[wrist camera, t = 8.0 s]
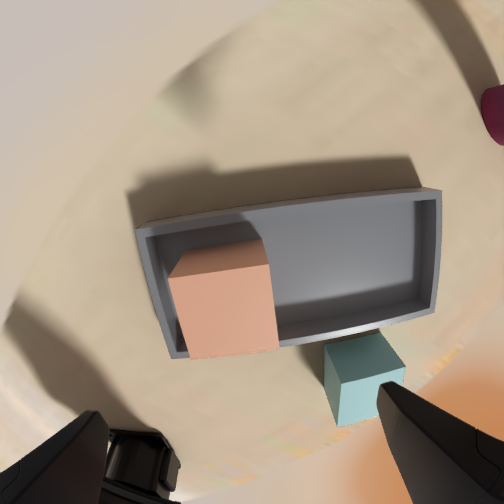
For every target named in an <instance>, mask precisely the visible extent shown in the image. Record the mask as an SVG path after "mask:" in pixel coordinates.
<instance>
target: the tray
mask: <svg viewBox="0 0 504 504" xmlns="http://www.w3.org/2000/svg"><path fill="white" fill-rule="evenodd" d="M135 234H136V238H137V242H138V247H139V251H140V255H141V259H142V263H143V267H144V271H145V275H146V279H147V282H148V286H149V290H150V293H151V297H152V300H153V304H154V307H155V310H156V314H157V317H158V320H159V323H160V326H161V330H162V333H163V336H164V339H165V342H166V345H167V348H168V351H169V353H170V356H171V359H178V358H190V355H189V352H188V349H187V345H186V342H185V339H184V336H183V332H182V329H181V326H180V322H179V319H178V315H177V312H176V308H175V304H174V301H173V297H172V293H171V290H170V286H169V282H168V277H169V276H170V274H171V273H172V271H173V269H174V268H175V266H176V265H177V263H178V262H179V260H180V259H181V257H182V255H183V254H184V252H185V251H186V250H191V249H198V248H204V247H211V246H217V245H224V244H230V243H237V242H244V241H250V240H257V239H262V241H263V244H264V248H265V252H266V256H267V259H268V263H269V269H270V277H271V284H272V292H273V300H274V308H275V316H276V323H277V331H278V340H279V348H280V347H286V346H293V345H299V344H304V343H310V342H315V341H321V340H326V339H331V338H336V337H341V336H346V335H350V334H355V333H359V332H364V331H368V330H372V329H376V328H380V327H384V326H388V325H392V324H396V323H400V322H403V321H407V320H411V319H414V318H418V317H421V316H425V315H428V314H431V313H434V311H435V304H436V297H437V289H438V280H439V270H440V258H441V241H442V190H437V189H431V188H426V187H415V188H401V189H389V190H377V191H366V192H355V193H345V194H335V195H326V196H317V197H309V198H300V199H292V200H284V201H277V202H269V203H262V204H255V205H248V206H241V207H234V208H227V209H221V210H215V211H208V212H202V213H196V214H190V215H184V216H178V217H173V218H167V219H162V220H156V221H151V222H147V223H145V224H143V225H142V226H140V227H138V228H137V229H135Z"/></svg>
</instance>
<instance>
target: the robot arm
mask: <svg viewBox="0 0 504 504" xmlns="http://www.w3.org/2000/svg"><path fill="white" fill-rule="evenodd" d="M376 406H377V410H378V413H379V416H380V419H381V423H382V426H383V429H384V432H385V435H386V439H387V442H388V445H389V448H390V450H391V453H392V455H393V457H394V460H395V462H396V464H397V466H398V469H399V471H400V473H401V476H402V478H403V480H404V483H405V485H406V487H407V490H408V492H409V494H410V497H411V499H412V502H413V504H504V441H501V440H499V439H496V438H494V437H492V436H490V435H488V434H486V433H484V432H482V431H481V430H479V429H476V428H475V427H473V426H471V425H469V424H467V423H466V422H464V421H462V420H460V419H458V418H457V417H455V416H453V415H451V414H449V413H447V412H446V411H444V410H442V409H440V408H439V407H437V406H435V405H433V404H432V403H430V402H428V401H426V400H425V399H423V398H421V397H419V396H418V395H416V394H414V393H413V392H411V391H409V390H408V389H406V388H404V387H402V386H401V385H399V384H397V383H396V382H394V381H388V382H385V383H382V384H380V386H379V389H378V395H377V400H376ZM109 439H110V441H111V442H112V443H111V445H110V448H109V451H108V453H107V448H108V441H109ZM180 468H181V464H180V461H179V460H178V458H177V456H176V455H175V453H174V452H173V450H172V449H171V448H170V446H169V445H168V443H167V441H166V440H165V438H164V436H163V435H161V434H159V433H146V432H132V431H121V430H112V429H109V426H108V424H107V423H106V421H105V420H104V418H103V417H102V415H101V414H100V412H98V411H96V410H86V411H85V412H84V413H82V414H81V415H80V416H78V417H77V418H76V419H74V420H73V421H72V422H71V423H69V424H68V425H67V426H65V427H64V428H63V429H61V430H60V431H59V432H57V433H56V434H55V435H53V436H52V437H50V438H49V439H48V440H46V441H45V442H44V443H42V444H41V445H40V446H38V447H37V448H36V449H34V450H33V451H31V452H30V453H29V454H27V455H26V456H25V457H23V458H22V459H21V460H19V461H18V462H16V463H15V464H13V465H12V466H10V467H9V468H8V469H6V470H4V471H3V472H1V473H0V504H181V502H177V501H171V500H169V495H170V492H174V491H175V488H176V482H177V475H178V469H180Z"/></svg>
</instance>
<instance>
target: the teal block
mask: <svg viewBox="0 0 504 504" xmlns="http://www.w3.org/2000/svg"><path fill="white" fill-rule="evenodd" d="M405 369H406V366H405V365H404V363H403V362H402V360H401V359H400V358H399V356H398V355H397V354H396V352H395V351H394V350H393V348H392V347H391V346H390V344H389V343H388V342H387V340H386V339H385V338H384V336H383V335H382V334H381V332H380V333H376V334H372V335H367V336H363V337H358V338H354V339H349V340H344V341H339V342H334V343H329V344H324V390H325V392H326V395H327V398H328V401H329V404H330V407H331V410H332V413H333V416H334V419H335V422H336V425H337V427H339V426H344V425H348V424H352V423H356V422H359V421H363V420H367V419H370V418H374V417H377V416H379V413H378V410H377V406H376V400H377V395H378V389H379V386H380V384H382V383H385V382H388V381H394V382H396V383H397V384H399V385H401V386H402V382H403V377H404V373H405Z"/></svg>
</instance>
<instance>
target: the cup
mask: <svg viewBox="0 0 504 504" xmlns="http://www.w3.org/2000/svg"><path fill="white" fill-rule="evenodd" d="M481 106H482V115H483V119H484V122H485V125H486V128H487V130H488V132H489V134H490V135H491V137H492V138H493V139H494V141H496V142H497V143H498V144H500V145H504V85H500V86H496V87H493V88H489V89H487V90H486V91H485V92H484V94H483V96H482V103H481Z"/></svg>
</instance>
